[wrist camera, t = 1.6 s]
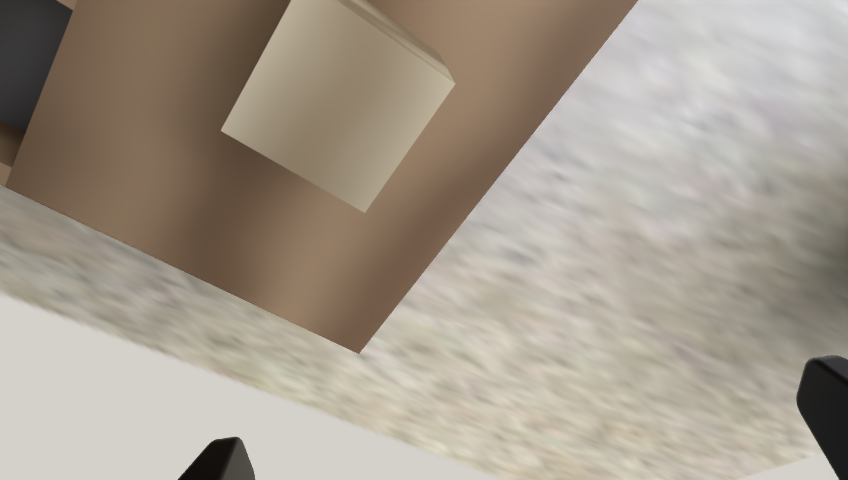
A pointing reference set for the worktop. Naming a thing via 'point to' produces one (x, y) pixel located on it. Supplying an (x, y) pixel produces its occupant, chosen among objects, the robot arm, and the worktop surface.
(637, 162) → the worktop surface
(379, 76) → the maple block
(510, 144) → the trap board
